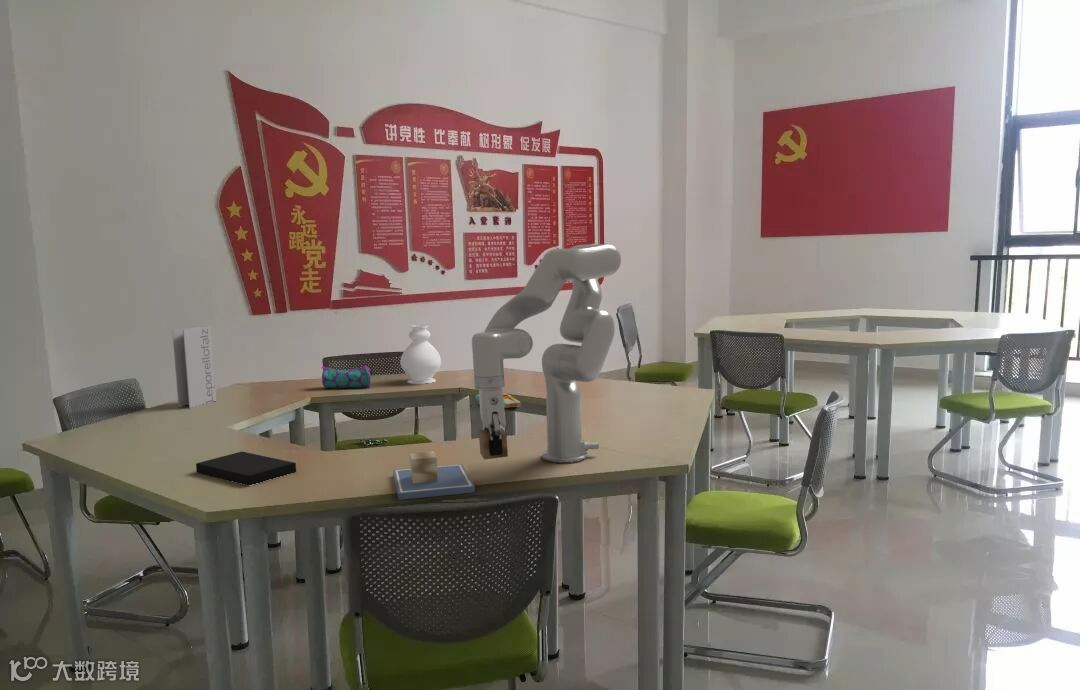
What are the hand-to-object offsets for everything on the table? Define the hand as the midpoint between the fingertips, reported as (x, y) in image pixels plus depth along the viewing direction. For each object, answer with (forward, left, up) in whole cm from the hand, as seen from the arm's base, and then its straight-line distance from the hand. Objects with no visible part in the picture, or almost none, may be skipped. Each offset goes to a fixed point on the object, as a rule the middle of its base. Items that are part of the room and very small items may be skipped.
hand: (493, 450), depth 196 cm
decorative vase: (+4, -153, -7) cm, 153 cm away
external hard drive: (+63, -25, -8) cm, 68 cm away
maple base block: (+18, 0, -6) cm, 19 cm away
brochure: (+93, -133, -7) cm, 162 cm away
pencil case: (+36, -149, -7) cm, 154 cm away
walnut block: (0, 0, -1) cm, 1 cm away
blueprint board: (+16, 0, -7) cm, 17 cm away
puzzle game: (-17, -84, -8) cm, 86 cm away
